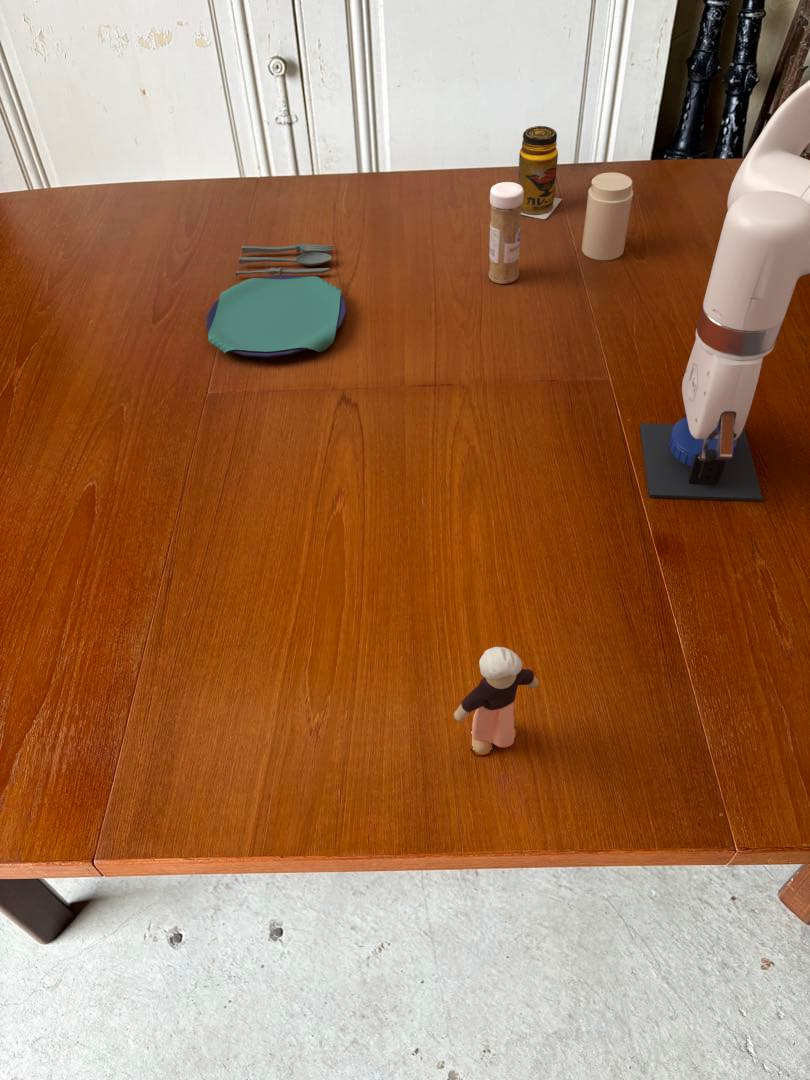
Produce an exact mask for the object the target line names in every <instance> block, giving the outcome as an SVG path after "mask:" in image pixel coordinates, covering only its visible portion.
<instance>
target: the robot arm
mask: <svg viewBox="0 0 810 1080" xmlns="http://www.w3.org/2000/svg"><path fill="white" fill-rule="evenodd" d="M809 144H810V79H809V80H807V81H806V82H805V83H804V84H802V85H801V86H800V87H799V88H797V89H796V90H795V91H794V92H792V94H790V95H789V96H788V97H787V98H786V99H785V101H783V102H782V104H780V106H779V107H777V109H776V110H775V112H774V113H773V114H772V116H771V117H770V119H769V120H768V121H767V123H766V125H765V126H764V127H763V129H762V131H761V132H760V134H759V136H758V137H757V139H756V140H755V142H754V143H753V145H752V146H751V148H750V149H749V151H748V153H746V154H747V155H746V156H745V158H744V159H743V161H742V163H741V164H740V166H739V168H738V170H737V172H736V173H735V176H734V178H733V180H732V182H731V185H730V188H729V191H728V195H727V203H726V204H727V206H726V207H727V212H726V215H725V218H724V221H723V226H722V229H721V232H720V236H719V241H718V244H717V248H716V252H715V255H714V260H713V263H712V267H711V271H710V276H709V279H708V283H707V287H706V291H705V295H704V298H703V302H702V306H701V309H700V314H699V318H698V321H697V325H696V328H695V329H696V330H695V340H694V344H693V345H692V349H691V353H690V356H689V360H688V362H687V365H686V368H685V373H684V376H683V378H682V383H681V393H682V399H683V405H684V410H685V411H684V417H683V418H685V417H687V421H688V426H689V430H690V433H691V435H692V436H693V437H694V438H695V439H701V444H700V451H699V454H695V458H694V461H693V464H692V468H691V471H690V474H689V478H688V480H689V483H690V484H703V485H716V484H718V483H719V480H720V477H721V474H722V471H723V468H724V465H725V463H726V462H727V461H728V460H730V459H731V458H732V453H733V440H736V439H737V438H738V437H739V436H740V434H741V432H742V430H743V428H744V429H745V426H746V422H747V420H748V417H749V414H750V411H751V406H752V404H753V401H754V396H755V393H756V389H757V385H758V382H759V377H760V373H761V369H762V364H763V359H764V357H766V356H768V355H769V354H771V352H772V351H773V350H774V348H775V345H776V344H777V343H776V342H777V340H778V337H779V333H780V331H781V327H782V325H783V322H784V319H785V317H786V314H787V311H788V308H789V306H790V302H791V299H792V296H793V294H794V291H795V288H796V285H797V281H798V280H799V279H800V277H803V276H806V275H810V159H807V158H804V157H802V156H801V154H802V153H803V151H804V150H805V149H806V148H807V146H808V145H809ZM716 427H718V431H714V430H715V428H716ZM709 439H718V443H717V448H716V449H715V450H708V443H709Z"/></svg>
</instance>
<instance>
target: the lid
mask: <svg viewBox="0 0 810 1080" xmlns="http://www.w3.org/2000/svg"><path fill="white" fill-rule="evenodd" d="M674 424H675V426H674V427H673V430H672V432H671V436H670V440H669V444H670V449H671V452H672V453H673V455H674V456H675V457H676V458H677V459H678V460H680V461H681V462H683V463H684V464H687V465H689V466H692V464H693V461H694V458H695V454H699V451H700V444H701V439H695V438H694V437H693V436H692V435H691V433H690V430H689V426H688V421H687V417H685V418H684V417H683V418H681V419H679V420H678V421H677V422H676V423H674ZM714 431H718V427H716V428H715V430H714ZM717 443H718V439H709V443H708V450H715V449H716V448H717ZM736 443H737V439H736V440H733V453H732V456H733V455H734V452H735V449H736V447H735V446H736ZM728 461H730V460H728ZM728 461H727V462H728ZM727 462H726V463H727ZM726 463H725V464H726Z"/></svg>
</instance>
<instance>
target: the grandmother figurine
mask: <svg viewBox="0 0 810 1080" xmlns="http://www.w3.org/2000/svg"><path fill="white" fill-rule="evenodd" d="M478 662H479V663H478V665H479V671H480V674H481V676H482V679H480V681H479V683H478V685H477V686H475V688H473V689H472V690H471V691H470V692H469V693H468V694H467V696H465V697H464V698H463V699H462V700H461V703H460V704H459V706H458V707H457V709H456V710H455V711H454V713H453V717H454V719H455V721H457V722H464V721H465V720H466V719H467V717H468V716H469V715H470V713H471V712H473V711H475V712H474V714H473V718H472V722H471V723H472V724H471V729H472V731H471V734H472V746H473V750H475V751H476V752H478V753H485V752H486V751H487V752H488V751H489V750H490V748H491V744H492V745H495V746H496V747H498V748H503V749H504V748H508V747H511V746H512V745H513V744H514V743H515V740H514V734H515V730H514V727H515V718H514V716H515V715H514V712H515V711H514V708H515V707H514V706H515V702H516V697H517V691H518V687H519V686H526V687H528V688H529V689H533V690H534V689H536V688H537V687H538V686H539V679H538V678H537V677H536V676H535V672H534V671H533V670H532V669H530V668H523V662H522V659H521V658H520V656H519V655H518V654H517V653H516V652H514V651H513V650H511V649H510V648H507V647H505V646H504V647H502V646H493V647H490V648H488V649H486V650H485V651H484V653H483V654H482V655H481V657H480V659H479V661H478Z"/></svg>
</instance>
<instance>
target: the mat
mask: <svg viewBox="0 0 810 1080" xmlns="http://www.w3.org/2000/svg"><path fill="white" fill-rule="evenodd" d="M675 424H676V423H650V422H649V423H648V422H647V423H644V422H641V423H639V432H640V439H641V446H642V447H641V448H642V453H643V462H644V470H645V477H646V485H647V493H648V498H650V499H652V498H653V499H675V500H677V499H679V500H680V499H681V500H704V501H705V500H706V501H707V500H708V501H713V500H714V501H731V502H732V501H733V502H734V501H735V502H762V501H763V499H764V498H763V495H762V491H761V487H760V483H759V479H758V475H757V471H756V467H755V463H754V460H753V456H752V453H751V448H750V445H749V441H748V437H747V433H746V429H745V427H744V428H743V430H742V432H741V434H740V436H739V437H738V438H737V443H736V446H735V447H736V449H735V452H734V455H733V456H732V458H731V459H730V461H728V462H727V463H726V464H725V465H724V468H723V471H722V474H721V477H720V480H719V483H718V484H716V485H703V484H690V483H689V480H688V478H689V474H690V471H691V468H692V466H689V465H687V464H684V463H683V462H681V461H680V460H678V459H677V458H676V457H675V456H674V455H673V453H672V452H671V449H670V444H669V440H670V436H671V432H672V430H673V427H674V426H675Z"/></svg>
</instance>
